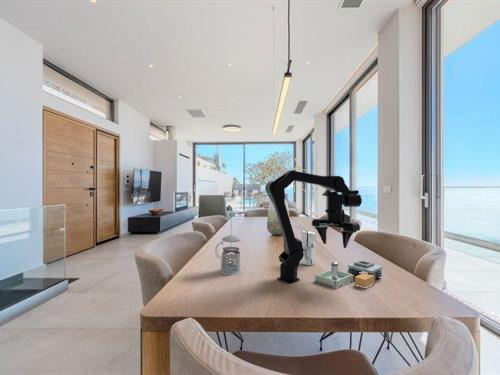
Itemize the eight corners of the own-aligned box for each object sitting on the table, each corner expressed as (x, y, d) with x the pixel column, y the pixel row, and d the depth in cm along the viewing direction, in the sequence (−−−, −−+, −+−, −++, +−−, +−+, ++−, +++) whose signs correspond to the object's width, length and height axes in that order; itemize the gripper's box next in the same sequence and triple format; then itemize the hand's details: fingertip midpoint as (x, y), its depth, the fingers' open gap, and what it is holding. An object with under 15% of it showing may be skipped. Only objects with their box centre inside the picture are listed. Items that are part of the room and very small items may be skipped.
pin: (335, 281, 102) (335, 264, 102) (329, 279, 104) (330, 262, 104) (339, 279, 104) (339, 263, 104) (333, 278, 106) (333, 261, 106)
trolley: (371, 283, 102) (371, 268, 102) (347, 276, 110) (347, 262, 110) (382, 277, 108) (382, 264, 108) (358, 271, 116) (358, 258, 116)
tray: (336, 288, 97) (336, 281, 97) (315, 281, 104) (315, 274, 103) (353, 281, 104) (353, 274, 104) (332, 274, 111) (333, 268, 111)
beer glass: (298, 264, 126) (299, 232, 125) (303, 260, 132) (303, 230, 132) (313, 266, 122) (314, 233, 122) (317, 262, 129) (317, 231, 128)
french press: (239, 276, 109) (239, 214, 108) (211, 273, 111) (212, 213, 111) (244, 268, 118) (245, 212, 118) (219, 266, 120) (219, 211, 120)
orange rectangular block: (365, 289, 97) (365, 279, 97) (354, 286, 100) (354, 276, 100) (374, 284, 101) (374, 275, 101) (364, 281, 104) (364, 272, 104)
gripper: (367, 207, 106) (367, 247, 106) (326, 204, 120) (326, 239, 121) (352, 209, 99) (352, 251, 99) (311, 206, 113) (311, 243, 113)
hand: (334, 245), depth 108 cm, fingers open, 9 cm apart
